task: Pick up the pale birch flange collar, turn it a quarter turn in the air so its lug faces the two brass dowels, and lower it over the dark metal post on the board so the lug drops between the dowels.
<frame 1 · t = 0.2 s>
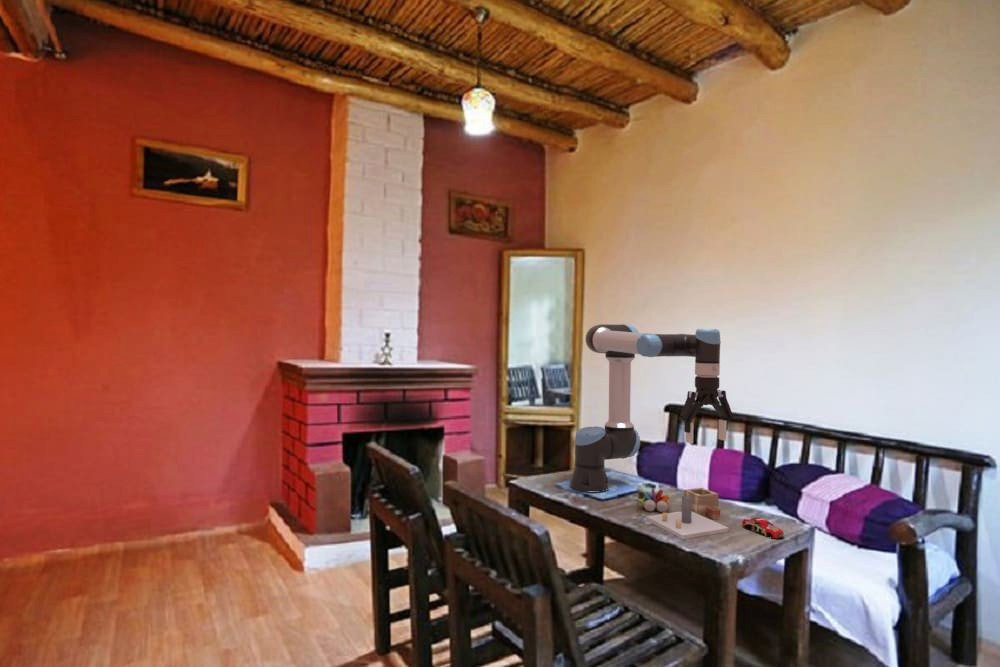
hand: (705, 441, 185), 27 cm above the table, fingers open, 13 cm apart
post board: (686, 525, 183), on the table
race car: (762, 533, 178), on the table
flange collar: (700, 511, 197), on the table
rainbow spiky toy: (655, 510, 199), on the table
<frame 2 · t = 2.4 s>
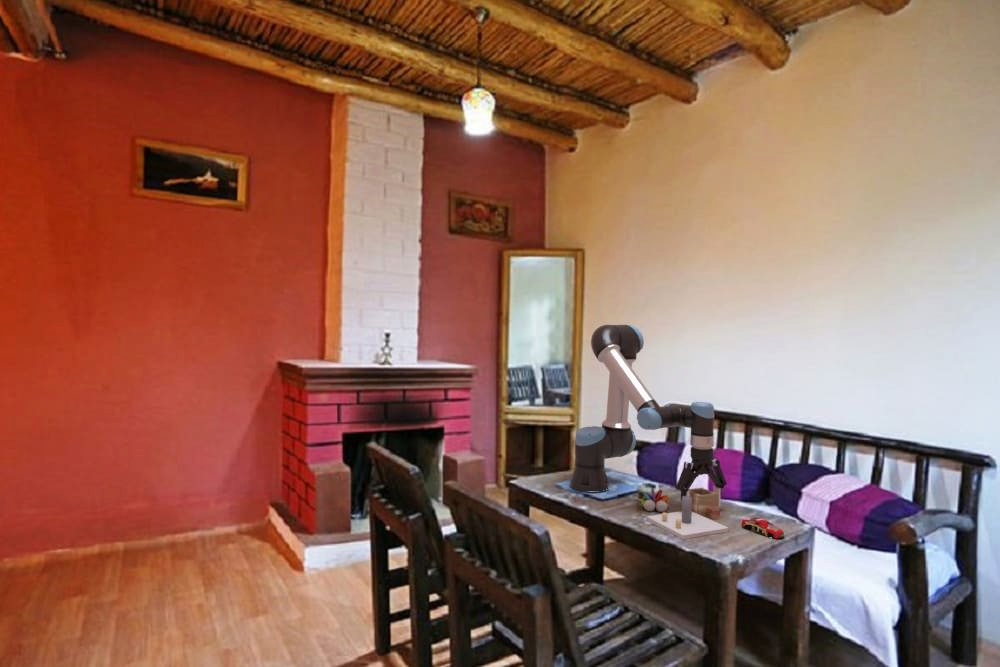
hand: (701, 508, 197), 1 cm above the table, fingers open, 13 cm apart
nothing on the table moved.
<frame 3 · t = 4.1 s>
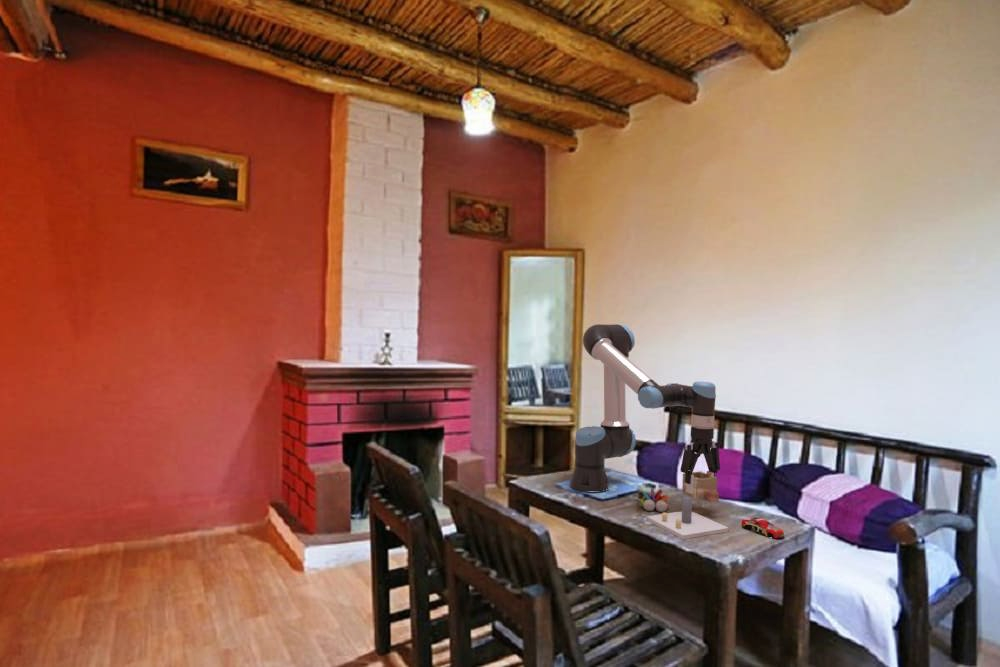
hand: (699, 491, 197), 7 cm above the table, fingers closed on flange collar, 8 cm apart
flange collar: (699, 495, 197), point 6 cm above the table, touching gripper
everything else where it was.
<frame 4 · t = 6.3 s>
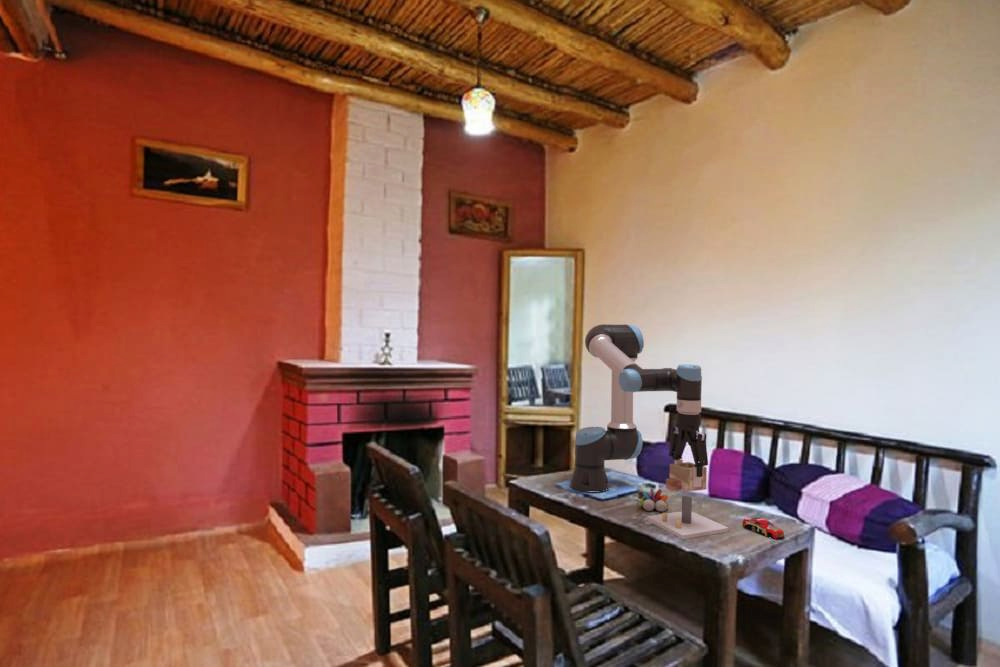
hand: (687, 483, 183), 14 cm above the table, fingers closed on flange collar, 8 cm apart
flange collar: (687, 487, 183), point 13 cm above the table, touching gripper
everything else where it was.
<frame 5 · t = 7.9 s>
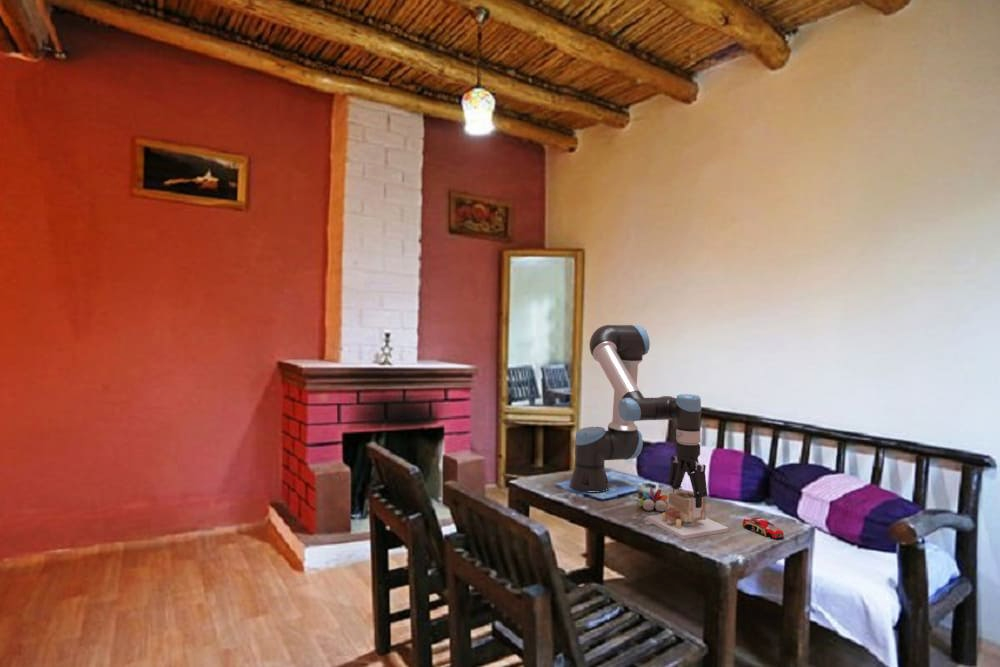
hand: (686, 512, 183), 4 cm above the table, fingers closed on flange collar, 8 cm apart
flange collar: (686, 517, 183), point 3 cm above the table, touching gripper
everything else where it was.
when the fingers open (3 cm above the table, at t = 8.7 s): flange collar stays where it is, resting on post board.
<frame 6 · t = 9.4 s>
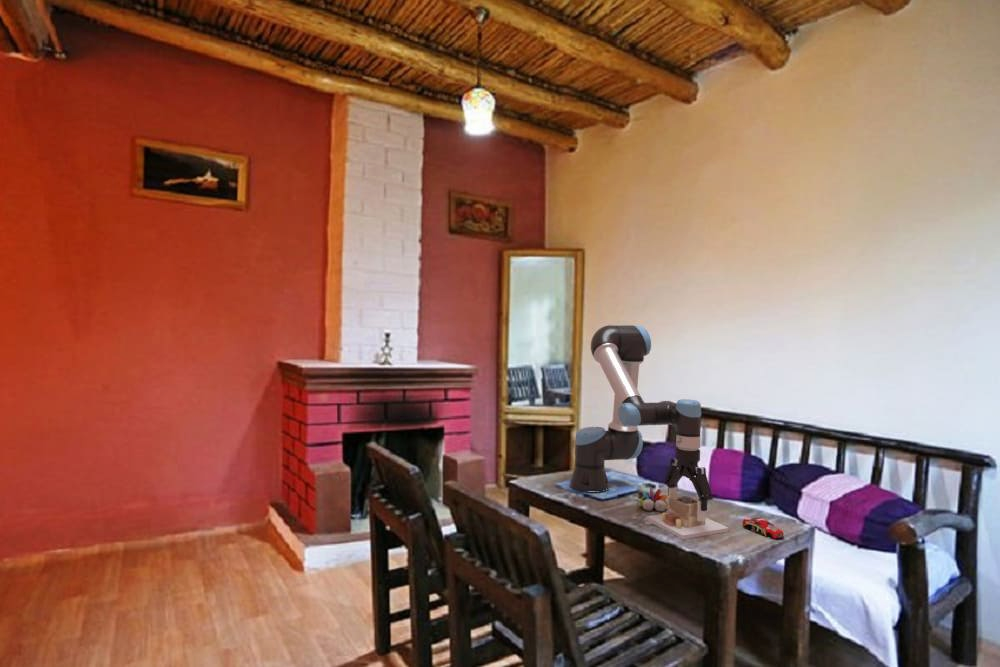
hand: (686, 513, 183), 4 cm above the table, fingers open, 13 cm apart
flange collar: (686, 522, 183), point 1 cm above the table, touching post board
everything else where it was.
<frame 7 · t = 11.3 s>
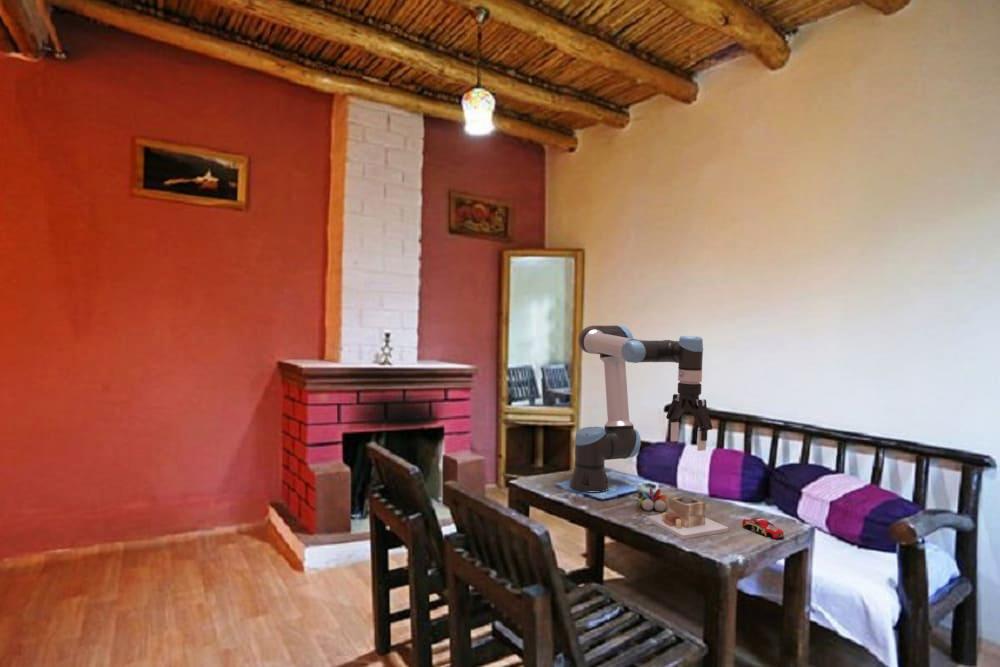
hand: (687, 445, 190), 24 cm above the table, fingers open, 13 cm apart
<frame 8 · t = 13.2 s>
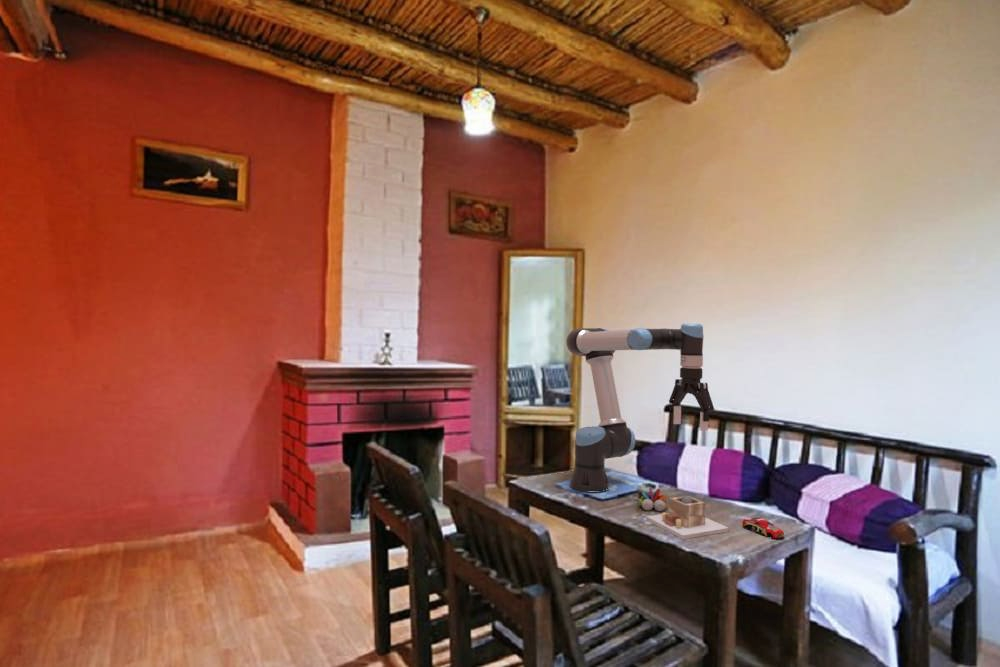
hand: (690, 427, 201), 29 cm above the table, fingers open, 13 cm apart
at the end: flange collar 0.1 cm off-centre on the post board, point 1.2 cm above the post board's base; flange collar tilted 0°; the gripper is holding nothing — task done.
